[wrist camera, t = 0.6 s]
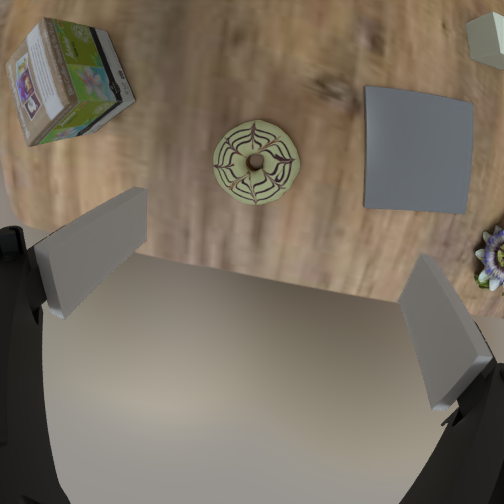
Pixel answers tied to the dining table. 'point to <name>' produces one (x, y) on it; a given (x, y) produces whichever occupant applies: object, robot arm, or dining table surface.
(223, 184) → the decorated donut
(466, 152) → the slate plate
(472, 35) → the sage block
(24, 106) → the tea box
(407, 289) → the robot arm
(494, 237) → the passion flower
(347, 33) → the dining table surface
